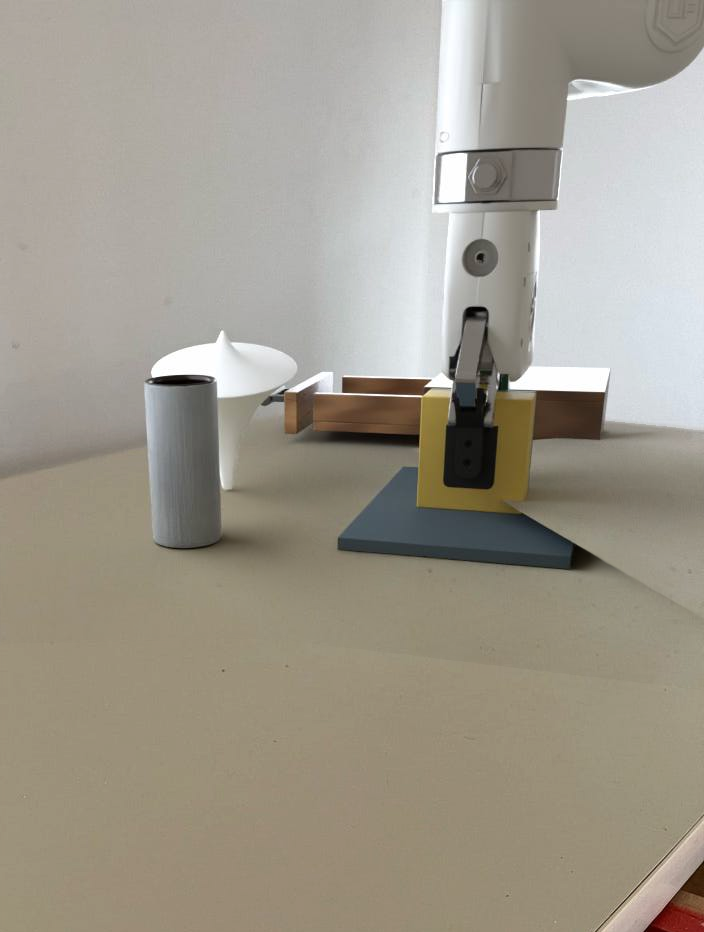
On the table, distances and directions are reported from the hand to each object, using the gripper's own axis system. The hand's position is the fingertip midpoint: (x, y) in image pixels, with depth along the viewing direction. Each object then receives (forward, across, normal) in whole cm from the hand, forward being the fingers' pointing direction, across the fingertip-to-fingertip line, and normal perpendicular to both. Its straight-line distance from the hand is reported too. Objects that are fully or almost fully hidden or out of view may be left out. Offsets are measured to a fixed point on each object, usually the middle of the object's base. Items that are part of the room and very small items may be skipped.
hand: (476, 472), depth 70 cm
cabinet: (+3, +26, 0) cm, 26 cm away
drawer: (+2, +26, +15) cm, 30 cm away
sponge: (+2, 0, 0) cm, 2 cm away
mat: (+3, 0, 0) cm, 3 cm away
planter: (+3, -10, +17) cm, 20 cm away
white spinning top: (+3, +2, +19) cm, 20 cm away
